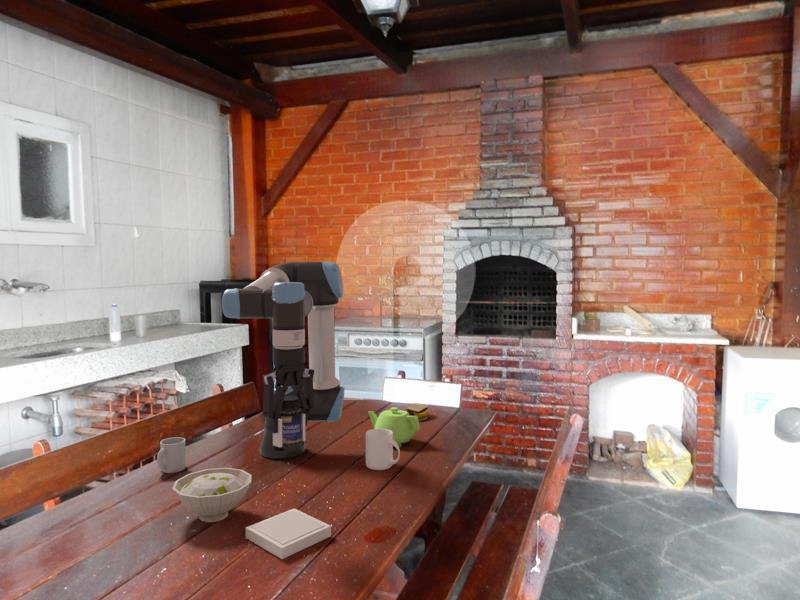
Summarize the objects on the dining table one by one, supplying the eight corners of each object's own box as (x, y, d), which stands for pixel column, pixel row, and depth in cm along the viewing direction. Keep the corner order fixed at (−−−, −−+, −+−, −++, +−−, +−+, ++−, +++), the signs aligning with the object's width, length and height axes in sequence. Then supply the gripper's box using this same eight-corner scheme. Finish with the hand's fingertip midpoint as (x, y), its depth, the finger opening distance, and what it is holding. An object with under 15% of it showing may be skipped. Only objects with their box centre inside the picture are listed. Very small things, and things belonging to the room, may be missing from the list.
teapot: (360, 443, 200) (360, 408, 199) (378, 433, 212) (378, 400, 211) (411, 452, 191) (411, 415, 190) (426, 441, 203) (427, 406, 202)
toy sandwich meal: (392, 418, 234) (392, 406, 233) (415, 412, 243) (415, 401, 242) (412, 424, 224) (412, 412, 224) (436, 418, 233) (436, 407, 233)
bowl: (208, 541, 129) (207, 499, 129) (156, 521, 140) (155, 481, 139) (269, 510, 146) (268, 473, 145) (218, 494, 156) (218, 458, 155)
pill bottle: (279, 448, 131) (279, 402, 130) (273, 441, 136) (272, 396, 136) (305, 445, 134) (305, 399, 133) (297, 438, 139) (297, 394, 139)
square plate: (245, 537, 131) (245, 526, 131) (294, 517, 142) (294, 507, 141) (281, 559, 122) (281, 547, 122) (330, 536, 132) (330, 525, 132)
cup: (190, 466, 177) (190, 438, 176) (167, 478, 167) (167, 448, 167) (172, 463, 179) (171, 436, 178) (148, 474, 170) (147, 445, 169)
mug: (391, 475, 170) (391, 440, 170) (360, 467, 177) (360, 433, 176) (406, 466, 178) (407, 433, 177) (376, 459, 184) (376, 427, 184)
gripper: (263, 352, 124) (264, 455, 125) (329, 344, 138) (329, 437, 139) (245, 349, 129) (245, 448, 130) (310, 342, 143) (310, 431, 144)
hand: (289, 442), depth 135 cm, fingers closed on pill bottle, 6 cm apart
